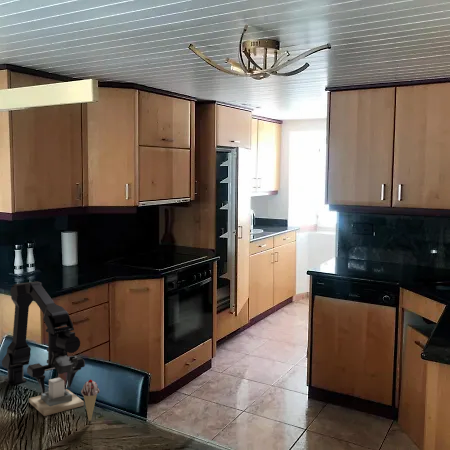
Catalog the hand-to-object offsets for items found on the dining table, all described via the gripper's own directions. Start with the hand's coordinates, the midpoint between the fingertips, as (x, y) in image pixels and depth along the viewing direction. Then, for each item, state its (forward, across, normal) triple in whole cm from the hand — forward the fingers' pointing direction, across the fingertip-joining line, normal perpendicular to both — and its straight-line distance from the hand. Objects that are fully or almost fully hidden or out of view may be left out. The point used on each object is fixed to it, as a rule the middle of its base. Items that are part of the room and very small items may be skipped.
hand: (56, 390), depth 177 cm
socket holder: (+5, 0, 0) cm, 5 cm away
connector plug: (+4, 0, 0) cm, 4 cm away
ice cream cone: (+5, +2, -22) cm, 23 cm away
